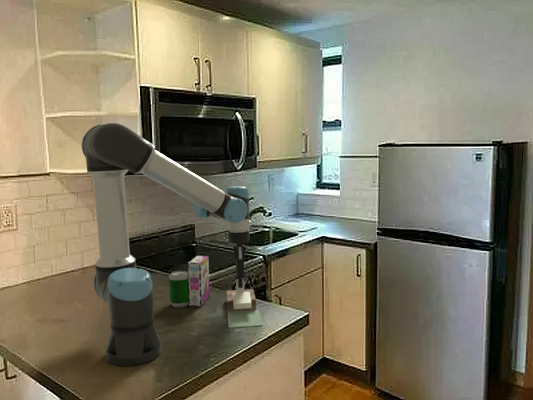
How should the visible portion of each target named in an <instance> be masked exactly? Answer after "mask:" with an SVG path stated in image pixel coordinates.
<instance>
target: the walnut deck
mask: <svg viewBox="0 0 533 400" xmlns="http://www.w3.org/2000/svg"><path fill="white" fill-rule="evenodd" d="M244 292H250V297H251V303H252V308H245V309H234V306H233V293H237V289H232V290H226V307H227V312H228V311H245V310H257V299H256V294H255V291H254V288H249V289H248V288H247V289H244Z"/></svg>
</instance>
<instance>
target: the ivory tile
mask: <svg viewBox="0 0 533 400" xmlns="http://www.w3.org/2000/svg"><path fill="white" fill-rule="evenodd" d="M233 306H234V309H245V308H252V303H251V297H250V292H237V293H233Z"/></svg>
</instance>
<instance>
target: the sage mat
mask: <svg viewBox="0 0 533 400" xmlns="http://www.w3.org/2000/svg"><path fill="white" fill-rule="evenodd" d="M227 321H228V324H227V325H228V329H234V328H235V329H236V328H249V327H250V328H251V327H263V326H264V323H263V321H262V316H261V312H260V309H256V310H245V311H228V310H227Z"/></svg>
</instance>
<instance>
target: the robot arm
mask: <svg viewBox="0 0 533 400" xmlns="http://www.w3.org/2000/svg"><path fill="white" fill-rule="evenodd" d="M81 150H82V154H83V155H84V157H85V160H86V161H85V162H86V172H87V173H88V174H89V175H90V176H91V177H92V179H93V191H94V202H95V213H96V215H95V216H96V223H97V234H98V236H97V237H98V238H97V239H98V246H99V258H98V259H97V261H96V262H95V265H94V266H95V267H94V268H95V274H94V278H93V286H94V287H93V288H94V291H95V293H96V295H97V296H98V298H99V299H101V301H103V302H104V303H105V304H106V306H108V308H109V319H110V333H109V336H108V339H107V345H106V348H105V356H106V357H105V359H106V361H107V362H108V363H109V364H111V365H115V366H121V367H127V366H128V367H129V366H136V365H137V366H138V365H142V364H144V363H147V362H150V361H152V360H154V359H157V357H158V356H160V355H161V353H162V341H161V338H160V336H159V333H158V331H157V328H156V326H155V321H154V319H155V315H154V302H153V301H154V298H153V297H154V296H153V285H154V284H153V281H152V276H151V274H150V272H148V271H147V270H145V269H142V268H137V263H136V257H134V256H133V255H131V252H130V251H131V250H130V249H131V248H130V237H129V226H128V225H129V224H128V223H129V222H128V212H127V211H128V210H127V200H126V198H127V197H126V187H125V176H126V174H127V173H128V172H131V173H133V174H134V175H138V174H142V175H144V176H146V177H147V178H149V179H151V180H153V181H154V182H155V183H157V184H160V185H162V186H164V187H165V188H166V189H169V190H170V191H172V192H175V194H177V195H180V196H181V197H183V198H185V199H187V201H188V200H189V201H190V202H192V203H193V211H194V214H195V216H196V217H197V218H201V219H202V218H205V219H207V218H214V219H218V220H222V221H226V222H227V230H228V232H227V236H228V237H227V239H228V240H227V241H228V242H229V243H231V244H235V245H234V246H233V248H232V249H233V253H234V260H235V276H234V280H235V282H236V284H235V285H236V289H235V290H237V292H244V290H245V277H246V274H245V258H246V257H245V253H246V247H245V245H243V244H245V243H249V242H250V240H251V239H250V237H251V236H250V234H251V233H250V231H249V230H250V224H252V221H251V220H250V201H249V200H250V197H249V188H248V187H246V186H244V185H234V186H233V185H232V186H227V188H226V192H225V191H223V190H222V189H221V188H218V187H217V186H215V185H214V184H212V183H210V182H209V181H207V180H205V179H204V178H202V177H201V176H199V175H197V174H195V173H194V172H192V171H191V170H189V169H188V168H186V167H184V166H183V165H181V164H179V163H177V162H176V161H174V160H173V159H171V158H169V157H167V156H166V155H165V154H163V153H161V152H159V151H158V150H156V149H155V145H154V144H153V143H151V142H150V141H148V140H147V139H145V137H142V136H141V135H139V134H138V133H137V132H135V131H134V130H132V129H131V128H129V127H127V126H125V125H123V124H121V123H116V122H109V123H103V124H97V125H95V126H92V127H91V128H90V129H88V130H87V131H86V132H85V133H84V135H83V137H82V140H81Z"/></svg>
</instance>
